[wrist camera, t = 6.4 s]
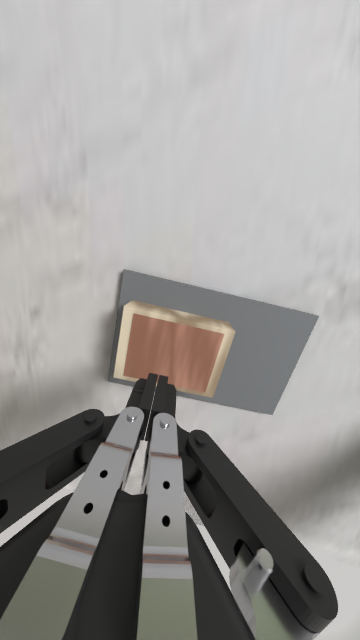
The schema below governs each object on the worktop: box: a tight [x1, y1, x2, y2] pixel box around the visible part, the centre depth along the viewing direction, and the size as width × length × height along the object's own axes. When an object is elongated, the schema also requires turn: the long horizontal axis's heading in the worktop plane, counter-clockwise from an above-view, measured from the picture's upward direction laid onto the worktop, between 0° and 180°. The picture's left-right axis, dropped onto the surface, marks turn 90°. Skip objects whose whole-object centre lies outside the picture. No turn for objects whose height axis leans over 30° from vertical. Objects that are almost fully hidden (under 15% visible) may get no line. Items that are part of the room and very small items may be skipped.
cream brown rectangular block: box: [114, 300, 236, 398], centre depth 20 cm, size 3×8×11 cm
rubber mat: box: [108, 269, 319, 415], centre depth 22 cm, size 22×14×1 cm, turn 77°
